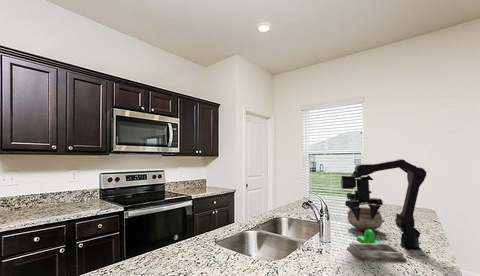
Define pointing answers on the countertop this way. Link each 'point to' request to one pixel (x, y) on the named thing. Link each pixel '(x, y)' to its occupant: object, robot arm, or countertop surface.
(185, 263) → the countertop surface
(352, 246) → the keyed nest
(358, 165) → the robot arm
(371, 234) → the mechanical part
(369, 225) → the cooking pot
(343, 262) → the countertop surface
